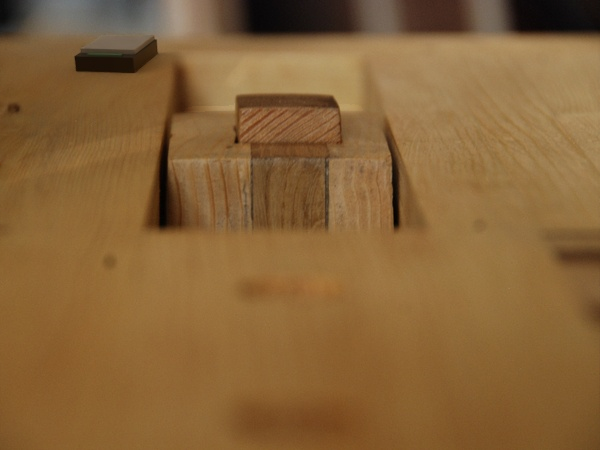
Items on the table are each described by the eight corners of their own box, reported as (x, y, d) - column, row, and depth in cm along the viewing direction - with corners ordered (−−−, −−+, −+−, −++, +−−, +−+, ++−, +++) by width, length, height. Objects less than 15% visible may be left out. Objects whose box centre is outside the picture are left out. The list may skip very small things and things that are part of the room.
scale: (75, 71, 130) (73, 51, 129) (104, 51, 143) (102, 33, 142) (134, 72, 129) (132, 52, 128) (157, 53, 142) (156, 34, 141)
